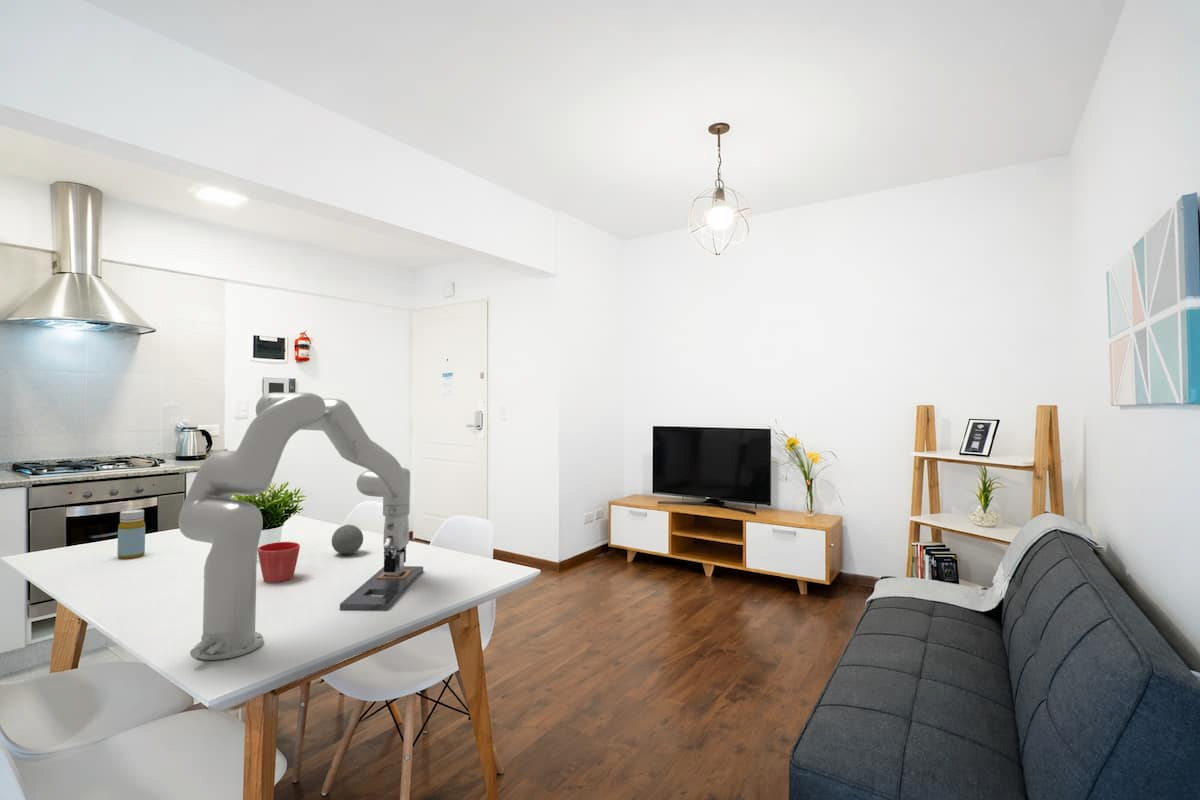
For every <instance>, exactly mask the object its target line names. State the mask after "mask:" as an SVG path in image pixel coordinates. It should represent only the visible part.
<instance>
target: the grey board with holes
mask: <svg viewBox="0 0 1200 800" xmlns="http://www.w3.org/2000/svg"><path fill="white" fill-rule="evenodd" d="M423 572H424V566H423V565H422V566H421V565H420V566H418V565H417V566H416V565H415V566H414V565H413V566H411V565H408V566H407V565H404V575H403V576H402V577H386V572H384V566H383V567H382V568H381V569H380V570H378V571H377V572H376V573H375V574H374V575H373V576H371V577H369V579H367V580H366V581H365V582H364V583H363V584H362V585H360V587H358V588H357V589H355V591H354V592H352V593H351V594H350V595H349V596H347V597H346V598H345V599H344V600H343V601H342V602H340V603H339V611H388V610H389V609H390V608H392V606H393V605H394V604H395V603H396V602H397V600H399V599H400V597H401V596H402V595H403V594H404V593H405V592H406V591H407V590H408V589H409V588H410V586H411V585H412V584H413V583H414V582H415V581H416V580H417V579H418V578H419V576H420V575H421V574H422V573H423ZM369 594H374V595H369Z"/></svg>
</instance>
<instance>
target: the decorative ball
mask: <svg viewBox="0 0 1200 800" xmlns="http://www.w3.org/2000/svg"><path fill="white" fill-rule="evenodd" d="M363 543H364V535H363V532H362V530H361V529H360V528H359V527H357V526H356V525H353V524H345V525H342V526H340V527H339V528H337V529H336V530H335V531H334V532H333V534H332V537H331V545H332V548H333V549H334V551H335V552H336V553H338V554H340V555H345V556H347V555H352V554H354V553H356V552H357V551H359V549H360V548H361V547H362V545H363Z"/></svg>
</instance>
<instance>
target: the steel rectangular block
mask: <svg viewBox="0 0 1200 800" xmlns="http://www.w3.org/2000/svg"><path fill="white" fill-rule="evenodd" d="M391 552H392V553H393V551H391ZM395 558H396V571H395V572H386V577H402V576H403V575H404V566H405V563H404V552H396V553H395Z"/></svg>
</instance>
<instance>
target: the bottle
mask: <svg viewBox="0 0 1200 800" xmlns="http://www.w3.org/2000/svg"><path fill="white" fill-rule="evenodd" d="M145 551H146V523H145V510H144V509H126V510H122V511H120V512H119V523H118V526H117V557H118V558H119V559H120V560H130V559H137V558H140V557H142V556H144V555H145Z"/></svg>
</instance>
